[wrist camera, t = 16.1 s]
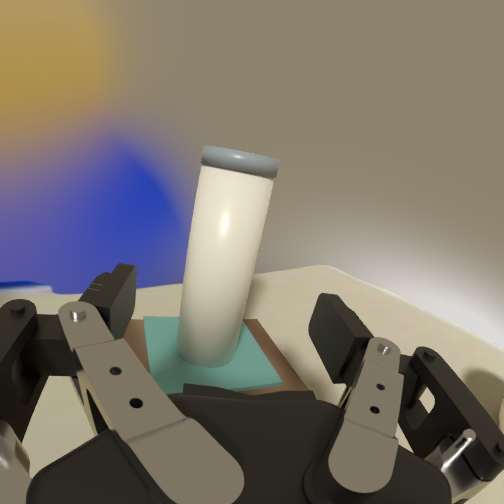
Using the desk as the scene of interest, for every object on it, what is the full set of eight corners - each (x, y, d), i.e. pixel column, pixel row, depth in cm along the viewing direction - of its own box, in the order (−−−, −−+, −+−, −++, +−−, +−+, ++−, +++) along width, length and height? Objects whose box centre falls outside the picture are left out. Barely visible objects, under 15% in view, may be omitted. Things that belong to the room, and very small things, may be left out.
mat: (154, 397, 18) (154, 393, 18) (143, 319, 26) (143, 316, 26) (281, 385, 22) (282, 381, 22) (239, 319, 30) (240, 316, 30)
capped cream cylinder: (181, 370, 21) (214, 146, 16) (171, 331, 25) (197, 144, 20) (244, 366, 23) (293, 163, 18) (225, 330, 27) (261, 156, 22)
